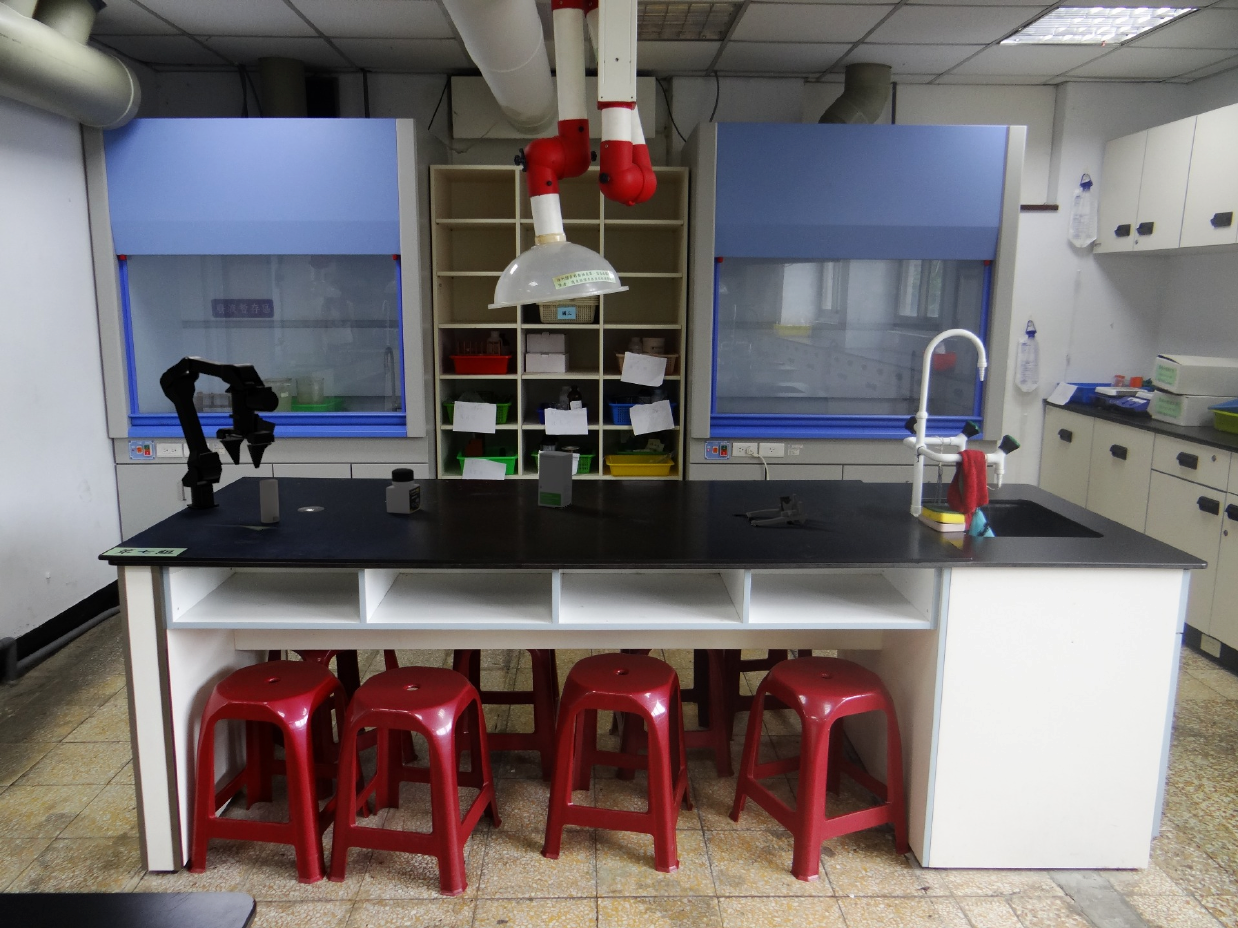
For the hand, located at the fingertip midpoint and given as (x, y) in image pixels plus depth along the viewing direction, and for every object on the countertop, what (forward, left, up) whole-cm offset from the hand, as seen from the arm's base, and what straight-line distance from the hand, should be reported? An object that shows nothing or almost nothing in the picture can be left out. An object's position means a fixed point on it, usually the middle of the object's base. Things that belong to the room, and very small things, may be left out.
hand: (247, 466), depth 240 cm
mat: (+13, -4, -13) cm, 19 cm away
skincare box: (+62, +58, -13) cm, 86 cm away
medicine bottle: (+32, +27, -13) cm, 44 cm away
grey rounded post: (+15, -4, -13) cm, 20 cm away
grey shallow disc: (+12, +11, -13) cm, 21 cm away
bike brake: (+121, +76, -14) cm, 143 cm away
